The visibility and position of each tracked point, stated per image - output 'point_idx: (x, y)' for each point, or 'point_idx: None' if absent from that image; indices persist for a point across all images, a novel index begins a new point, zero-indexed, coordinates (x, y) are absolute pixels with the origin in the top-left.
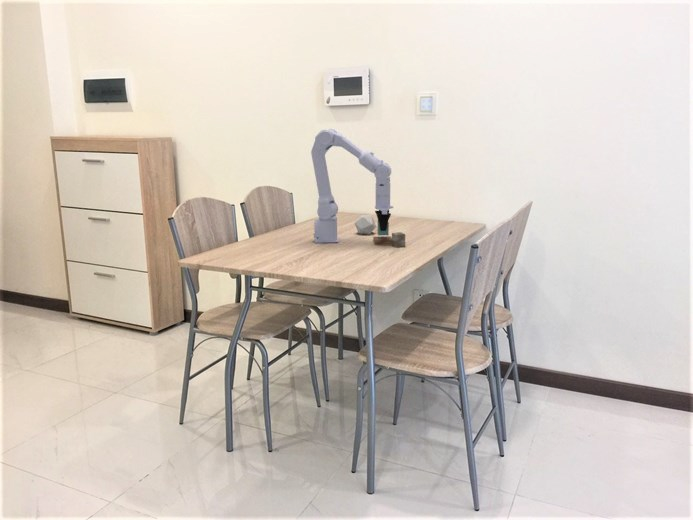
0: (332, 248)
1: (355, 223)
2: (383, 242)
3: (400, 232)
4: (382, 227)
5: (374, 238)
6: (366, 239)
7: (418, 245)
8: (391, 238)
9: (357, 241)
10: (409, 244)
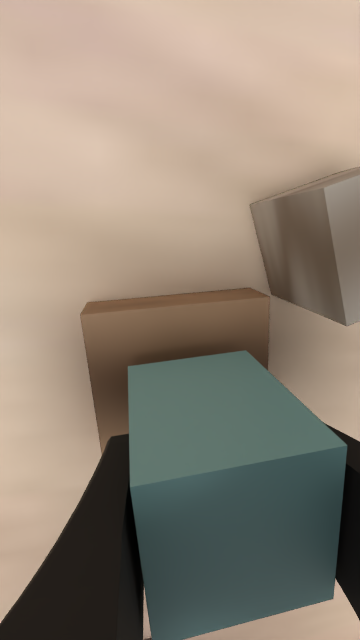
0: (312, 619)
1: None
2: None
3: (340, 204)
4: None
5: None
6: (29, 504)
7: (303, 10)
8: (201, 306)
9: None
10: (247, 113)
